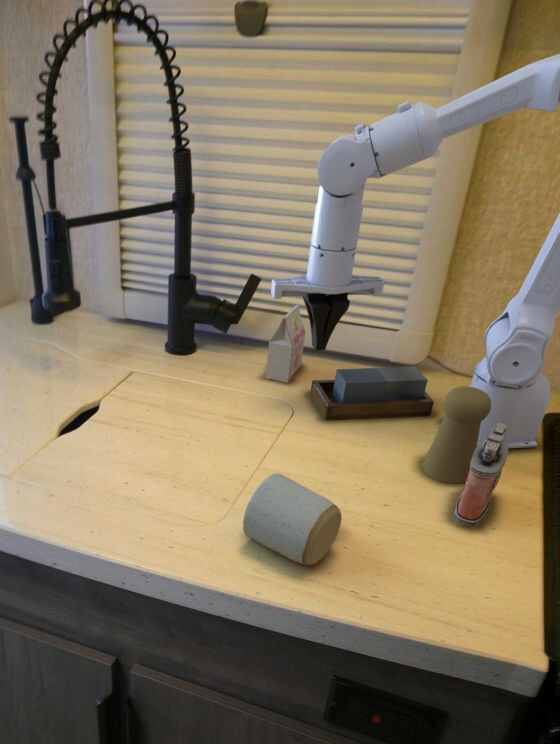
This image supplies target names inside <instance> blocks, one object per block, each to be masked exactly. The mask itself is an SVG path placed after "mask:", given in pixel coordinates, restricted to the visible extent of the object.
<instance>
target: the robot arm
mask: <svg viewBox="0 0 560 744" xmlns="http://www.w3.org/2000/svg"><path fill="white" fill-rule="evenodd" d="M558 104H559V105H560V53H557V54H554V55H551V56H549V57H546V58H543V59H540V60H537V61H534V62H532V63H530V64H527V65H525V66H523V67H522V66H521V68H519V69H517V70H514V71H512V72H510V73H508V74H506V75H504V76H501V77H500V78H498V79H495V80H494V81H491V82H489V83H487V84H485V85H483V86H481V87H479V88H476V89H474V90H472V91H470V92H468V93H467V94H464V95H462V96H460V97H458V98H456V99H454V100H452V101H450V102H448V103H445V104H444V105H442V106H440V107H435V106H432V105H430V104H428V103H426V102H424V101H419V102H417V103H414V104H413V105H412V104H411V101H410V100H407V101H405V102H403V103H400V104H399V105H398V106H397V112H395V113H393V114H391V115H388V116H386V117H384V118H382V119H379V120H378V121H375V122H373V123H371V124H369V125H366V124H365V123H364V122H363V123H359V125H356V126H355V128H354V132H355V134H344V135H341V136H339V137H337V138H336V139H335V140H333V141H332V142H331V143H330V144H329V145H328V147H327V148H325V150H324V151H323V152H322V154H321V156H320V158H319V161H318V165H317V178H318V181H319V183H320V184H319V187H318V190H317V202H316V204H315V206H314V215H313V221H312V230H311V236H310V237H311V238H310V245H309V246H310V247H309V254H308V261H307V269H306V271H307V272H306V274H305V275H298V276H291V277H285V278H273V279H271V286H270V287H271V288H270V295H271V297H272V298H273V299H274V300H279V299H282V298H286V297H287V298H288V297H289V298H290V297H292V298H293V297H302V300H303V303H304V306H305V309H306V313H307V315H308V320H309V327H310V332H311V333H310V335H311V346H312V348H313V349H314V350H315V351H326V350H327V346H328V343H329V340H330V339H331V337H332V334H333V333H334V331H335V329H336V327H337V325H338V323H339V322H340V320H341V319H342V318H343V316H344V315H345V314H346V312H347V311H348V310H349V308H350V304H351V300H350V299H349V298H348V297H349V296H362V295H363V296H364V295H365V296H367V295H372V296H374V297H382V296H383V292H384V288H385V287H384V286H385V280H384V279H383V278H381V277H380V276H367V275H366V276H365V275H353V270H354V266H355V260H356V253H357V246H358V241H359V235H360V229H361V222H362V218H363V210H364V207H363V198H364V194H365V187H366V186H365V185H366V183H367V180H368V179H377V180H378V179H381V178H383V177H386V176H388V175H391V174H393V173H396V172H398V171H401V170H403V169H406V168H408V167H411V166H413V165H415V164H418V163H421V162H423V161H425V160H428V159H429V158H432V157H434V156H435V155H436V153H437V151H438V149H439V147H440V145H441V143H442V142H443V140H444V139H446V138H449V137H452V136H454V135H456V134H459V133H461V132H464V131H468V130H469V129H472V128H475V127H478V126H481V125H484V124H485V123H488V122H491V121H494V120H495V119H498V118H501V117H504V116H506V115H509V114H511V113H514V112H517V111H519V110H522V109H528V110H535V111H543V112H549V113H557V111H558V106H559V105H558ZM559 311H560V212H559V213H558V214H557V217H556V219H555V221H554V223H553V225H552V227H551V228H550V231H549V232H548V235H547V237H546V239H545V240H544V242H543V244H542V246H541V248H540V250H539V252H538V254H537V256H536V258H535V260H534V262H533V264H532V265H531V268H530V270H529V271H528V273H527V275H526V278H525V279H524V281H523V283H522V285H521V287H520V289H519V291H518V293H517V294H516V295H515V296H514V297H513V298H512V299H510V301H509V302H508V304H507V306H506V308H505V310H504V311H503V312H502V314H500V315H499V316H498V317H497V318H496V319H495V320H493V321H492V322H491V323H490V324H489V326H488V327H487V328H486V331H485V334H484V339H483V343H484V347H485V350H486V354H485V356H484V358H483V359H482V360H481V361H479V362H478V363H477V364H476V365H475V370H474V372H473V375H472V378H471V381H470V386H469V387H474V388H477V389H480V390H482V391H484V392H485V393H487V394H488V395H489V397H490V399H491V409H490V412H489V414H488V415H487V417H486V418H485V419H484V420H483V421H481V425H480V431H479V437H478V443H477V446H478V444H479V443H480V442H482V441H483V440H484V439H485V438H487V437H488V435H489V433H492V432H493V430H494V428H495V426H496V424H498V423H502V424H505V425H506V427H507V429H506V432H505V435H504V441H505V442H506V443H507V444H508V449H524V448H537V446H538V442H537V440H536V438H537V435H538V432H539V430H540V428H541V425H542V422H543V420H544V417H545V415H546V413H547V410H548V407H549V404H550V402H551V401H550V400H551V385H550V382H549V380H548V379H547V378H546V377H547V376H545V375H544V374H542V373H541V372H542V371H543V369H544V366H545V363H546V348H547V346H548V345H549V342H550V340H551V339H552V336H553V333H554V330H555V324H556V320H557V316H558V313H559Z"/></svg>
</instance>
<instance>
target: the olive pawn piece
mask: <svg viewBox="0 0 560 744" xmlns="http://www.w3.org/2000/svg"><path fill="white" fill-rule="evenodd" d="M490 409H491V399H490V397H489V395H488V394H487V393H485V392H484V391H482V390H480V389H477V388H474V387H470V386H466V385H465V386H463V385H461V386H457V387H454V388H452V389H451V390H450V391H449V392H447V394H446V395H445V397H444V401H443V412H444V413H445V414H444V416H443V418H442V420H441V422H440V425H439V427H438V429H437V432H436V434H435V436H434V438H433V440H432V442H431V444H430V446H429V449H428V451H427V454H426V456H425V458H424V460H423V462H422V469H423V472H424V473H425V474H426V475H428V476H429V477H430V478H431V479H434V480H436V481H439V482H442V483H447V484H464V483H466V480H467V477H468V474H469V471H470V465H471V460H472V457H473V454H474V451H475V449H476V447H477V443H478V437H479V431H480V425H481V421H483V420H484V419H485V418H486V417H487V415H488V414H489V412H490Z"/></svg>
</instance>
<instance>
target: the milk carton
mask: <svg viewBox="0 0 560 744" xmlns="http://www.w3.org/2000/svg"><path fill="white" fill-rule="evenodd" d="M306 332H307V331H306V328H305V325H304V321H303V319H302V315H301V310H300V304H295V305H294V306H293V307H292V308H291V309H290V310H289V311H288V312H287V314H285V315H284V316H283V318H282V320H281V322H280V324H279V326H278V328H277V329H276V331H275V332H274V334H273V335H272V337H271V339H270V340H269V342H268V349H267V358H266V370H265V379H268V380H273V381H278V382H281V383H282V382H283V383H286V384H287V383H289V382H290V381H291V380H292V378H293V377H294V376H295V374H297V372H298V371H299V369H301V367H302V361H303V354H304V348H305V347H304V346H305V340H306Z"/></svg>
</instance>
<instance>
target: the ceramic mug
mask: <svg viewBox="0 0 560 744" xmlns="http://www.w3.org/2000/svg"><path fill="white" fill-rule="evenodd" d="M341 523H342V512H341V509H340V507H339V506H338V505H336V504H335V503H334V502H332V501H331V500H330V499H328V498H327V497H325V496H323V495H321V494H319V493H318V492H315V491H313V490H311V489H309V488H307V486H304V485H302V484H300V483H298V482H296V481H295V480H293V479H291V478H289V477H287V476H286V475H284V474H282V473H280V472H279V473H277V472H274V473H272V474H270V475H268V476H267V477H266V478H265V479H264V480H263V481H262V482H261V483H260V484H259V485H258V486H257V487H256V488H255V490H254V491H253V493H252V495H251V496H250V499H249V501H248V502H247V504H246V508H245V512H244V516H243V521H242V531H243V534H244V535H245V536H246V537H247V538H248V539H250V540H252V541H255V542H257V543H258V544H260V545H262V546H264V547H267V548H268V549H270V550H272V551H274V552H276V553H278V554H280V555H282V556H284V557H285V558H287V559H289V560H291V561H293V562H295V563H299V564H302V565H305V566H311V565H315V564H317V563H319V562H320V561H321V560H322V559H323V558H324V557H325V555H326V554H327V553H328V552H329V550H330V549H331V547H332V545H333V544H334V542H335V540H336V537H337V535H338V533H339V531H340V528H341Z"/></svg>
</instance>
